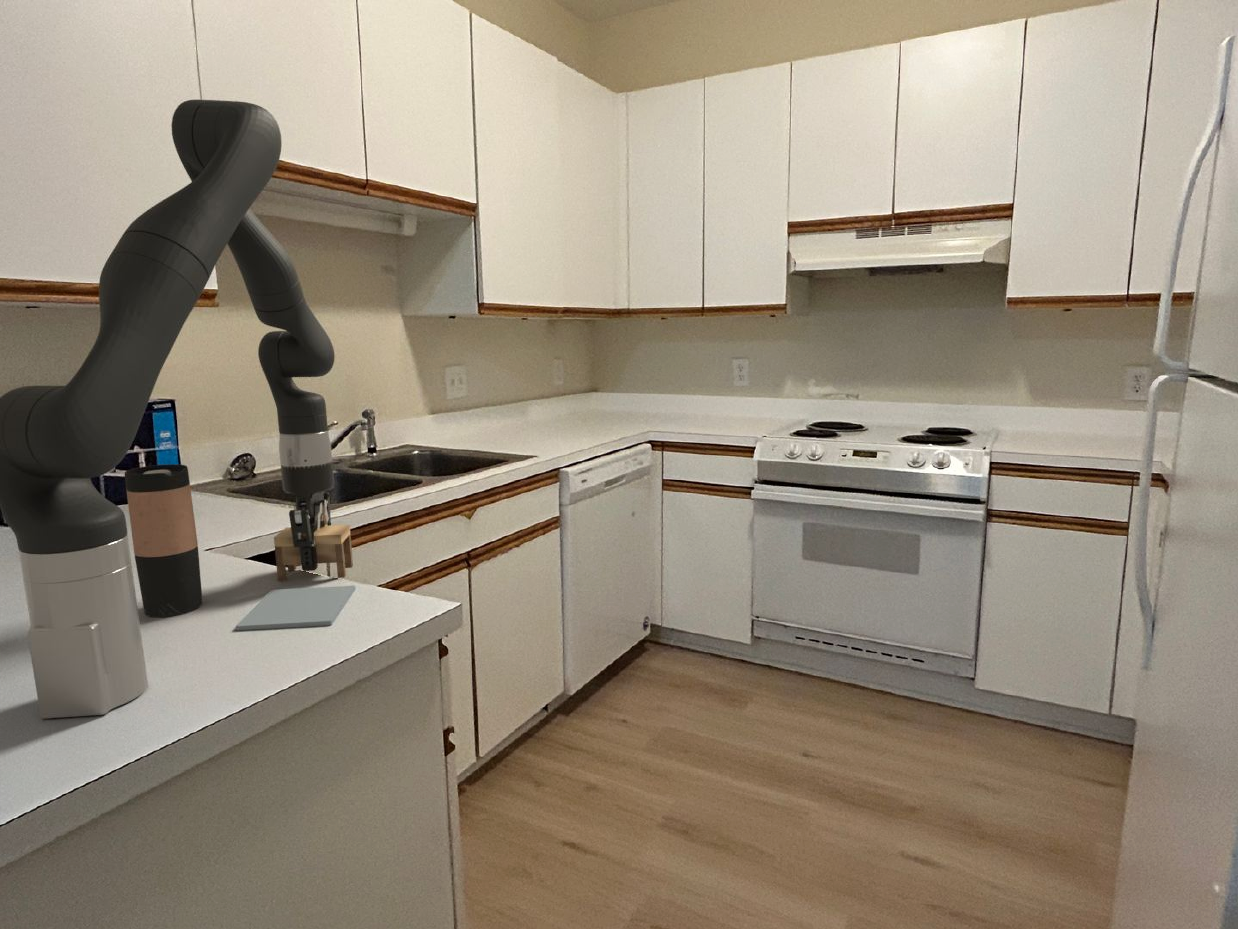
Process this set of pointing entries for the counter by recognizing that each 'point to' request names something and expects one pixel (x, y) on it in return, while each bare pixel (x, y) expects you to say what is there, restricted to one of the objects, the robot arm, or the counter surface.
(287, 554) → the stool
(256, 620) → the mat
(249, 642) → the counter surface
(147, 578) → the travel mug
